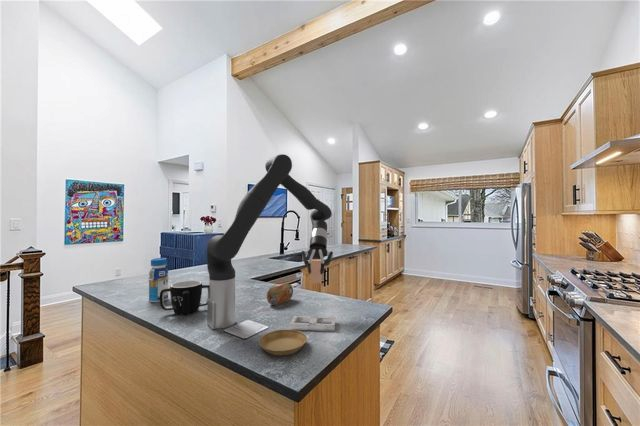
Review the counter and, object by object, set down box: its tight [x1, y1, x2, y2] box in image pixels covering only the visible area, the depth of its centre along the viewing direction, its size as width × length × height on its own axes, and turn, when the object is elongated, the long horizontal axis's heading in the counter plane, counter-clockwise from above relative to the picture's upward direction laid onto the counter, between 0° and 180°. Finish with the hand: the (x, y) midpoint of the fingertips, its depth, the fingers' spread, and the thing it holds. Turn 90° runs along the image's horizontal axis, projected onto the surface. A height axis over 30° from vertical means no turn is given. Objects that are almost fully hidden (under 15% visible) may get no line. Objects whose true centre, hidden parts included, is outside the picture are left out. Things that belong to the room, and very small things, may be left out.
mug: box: [159, 280, 209, 316], centre depth 115 cm, size 16×16×12 cm
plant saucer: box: [258, 328, 308, 357], centre depth 84 cm, size 15×15×3 cm
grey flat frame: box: [289, 315, 336, 332], centre depth 100 cm, size 16×8×2 cm, turn 85°
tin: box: [266, 282, 294, 306], centre depth 127 cm, size 15×3×8 cm, turn 143°
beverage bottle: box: [148, 257, 170, 303], centre depth 132 cm, size 8×8×20 cm
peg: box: [310, 259, 322, 284], centre depth 111 cm, size 4×4×9 cm
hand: (315, 272), depth 109 cm, fingers closed on peg, 4 cm apart
